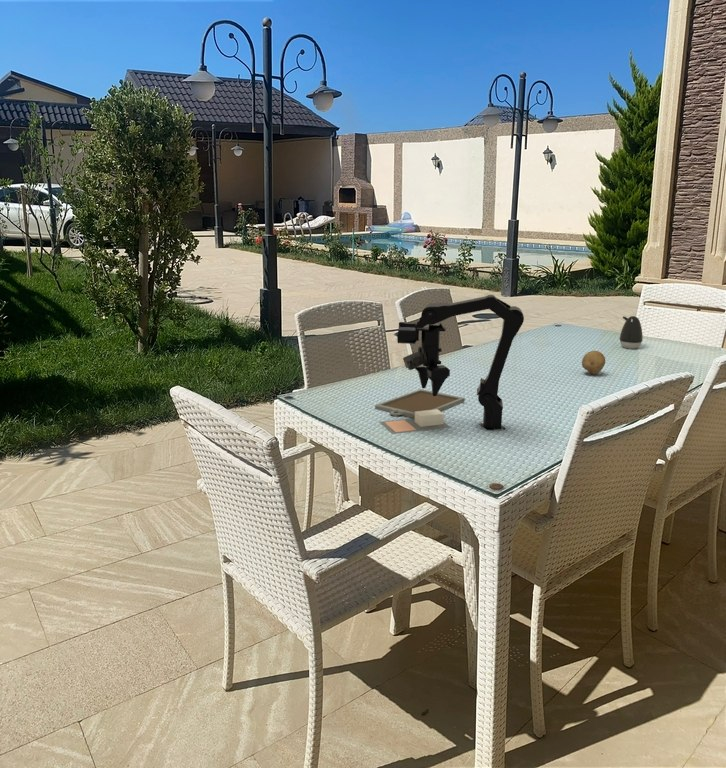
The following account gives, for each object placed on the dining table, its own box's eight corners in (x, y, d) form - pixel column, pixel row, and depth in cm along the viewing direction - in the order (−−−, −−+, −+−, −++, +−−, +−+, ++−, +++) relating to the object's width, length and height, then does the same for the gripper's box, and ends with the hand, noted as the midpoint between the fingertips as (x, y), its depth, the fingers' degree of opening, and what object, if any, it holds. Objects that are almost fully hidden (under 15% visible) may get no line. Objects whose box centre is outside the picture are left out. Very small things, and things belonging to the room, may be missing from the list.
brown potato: (590, 378, 291) (593, 354, 288) (576, 373, 299) (578, 349, 296) (608, 376, 294) (610, 352, 292) (593, 370, 302) (595, 347, 299)
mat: (451, 429, 231) (451, 426, 231) (392, 435, 225) (392, 433, 225) (435, 417, 242) (435, 415, 242) (379, 423, 236) (379, 421, 236)
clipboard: (465, 397, 257) (416, 417, 235) (465, 402, 258) (416, 422, 235) (420, 388, 269) (370, 406, 247) (420, 393, 270) (370, 411, 247)
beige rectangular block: (443, 424, 234) (443, 413, 233) (420, 426, 231) (420, 416, 230) (437, 419, 238) (437, 409, 237) (414, 421, 236) (414, 411, 235)
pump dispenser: (625, 344, 351) (629, 313, 347) (645, 348, 343) (649, 316, 339) (614, 347, 345) (617, 315, 340) (634, 351, 337) (637, 319, 333)
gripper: (396, 339, 234) (395, 386, 239) (417, 352, 217) (416, 402, 222) (428, 337, 238) (427, 383, 242) (451, 350, 220) (449, 399, 225)
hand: (429, 392), depth 232 cm, fingers open, 9 cm apart
